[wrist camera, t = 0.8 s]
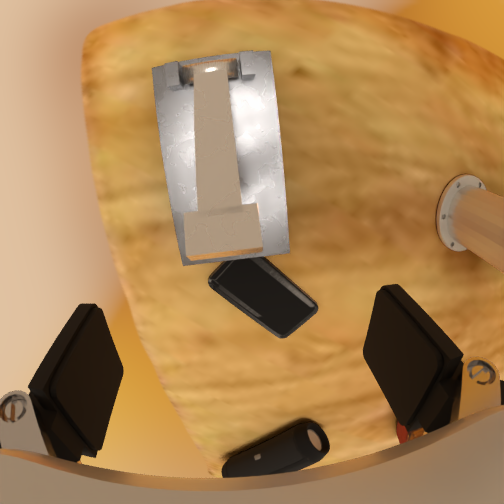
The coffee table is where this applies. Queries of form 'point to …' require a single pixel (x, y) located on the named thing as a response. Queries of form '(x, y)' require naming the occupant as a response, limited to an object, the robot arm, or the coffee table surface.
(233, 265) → the phone
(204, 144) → the latch bar
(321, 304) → the coffee table surface
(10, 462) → the robot arm
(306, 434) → the portable speaker
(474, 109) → the coffee table surface
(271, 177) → the base block
